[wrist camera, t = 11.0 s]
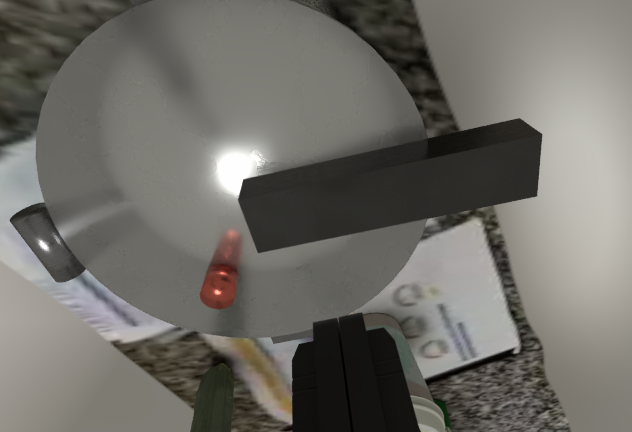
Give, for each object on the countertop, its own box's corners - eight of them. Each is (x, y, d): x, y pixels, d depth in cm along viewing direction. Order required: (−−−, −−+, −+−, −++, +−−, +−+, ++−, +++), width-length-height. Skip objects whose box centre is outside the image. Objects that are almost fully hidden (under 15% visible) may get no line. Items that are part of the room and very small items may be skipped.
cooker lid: (-82, 61, 17) (-160, 81, 14) (511, -96, 15) (563, -110, 12) (124, 347, 27) (104, 394, 24) (499, 276, 25) (526, 318, 22)
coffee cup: (425, 339, 43) (467, 455, 33) (355, 369, 45) (374, 487, 35) (391, 289, 39) (426, 404, 29) (316, 325, 41) (323, 443, 31)
